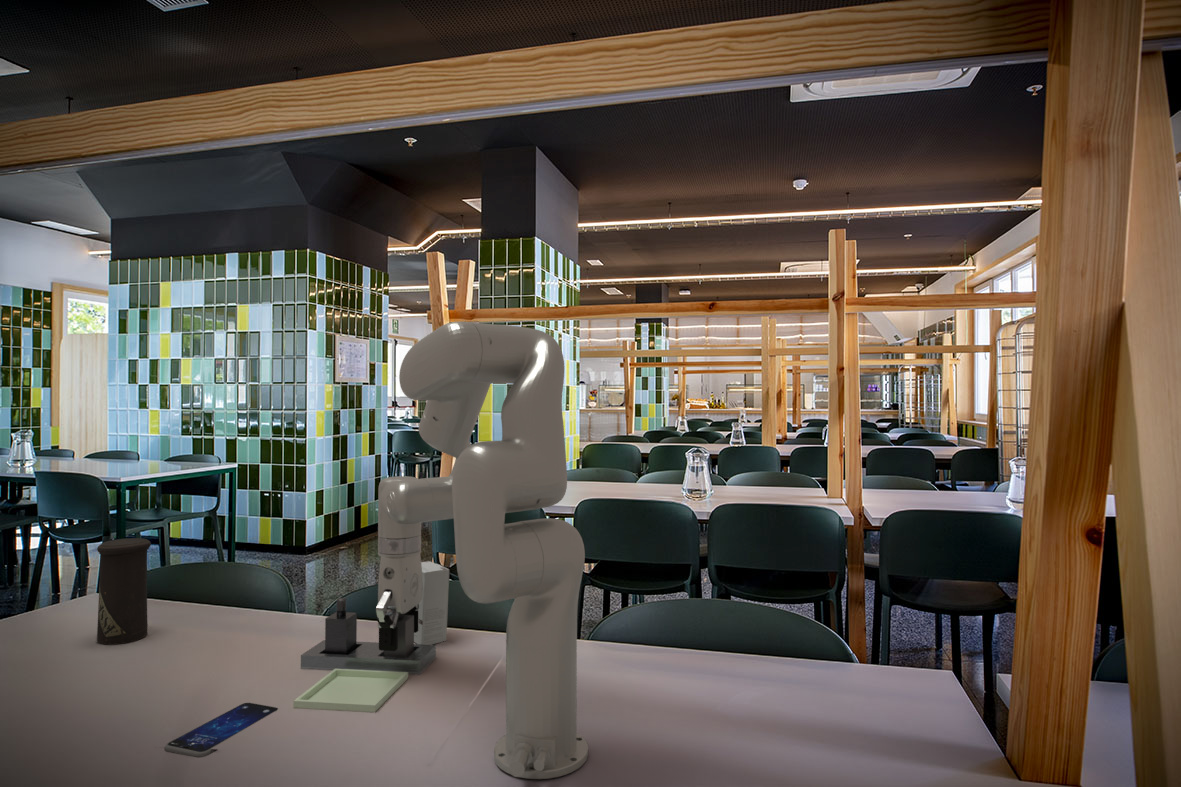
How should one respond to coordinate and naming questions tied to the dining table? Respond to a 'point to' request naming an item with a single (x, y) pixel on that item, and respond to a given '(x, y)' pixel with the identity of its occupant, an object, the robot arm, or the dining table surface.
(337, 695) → the tray
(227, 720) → the smartphone
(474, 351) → the robot arm
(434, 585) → the skincare box
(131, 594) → the container
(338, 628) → the grey two-slot holder
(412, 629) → the plug
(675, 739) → the dining table surface
